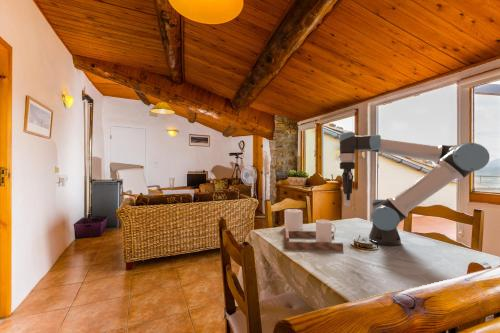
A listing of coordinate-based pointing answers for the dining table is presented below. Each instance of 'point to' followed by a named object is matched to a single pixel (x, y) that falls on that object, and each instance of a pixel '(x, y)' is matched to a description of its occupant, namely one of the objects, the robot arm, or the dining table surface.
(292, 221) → the cup
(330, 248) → the brown rectangular tray
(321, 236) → the mug
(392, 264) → the dining table surface
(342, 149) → the robot arm
